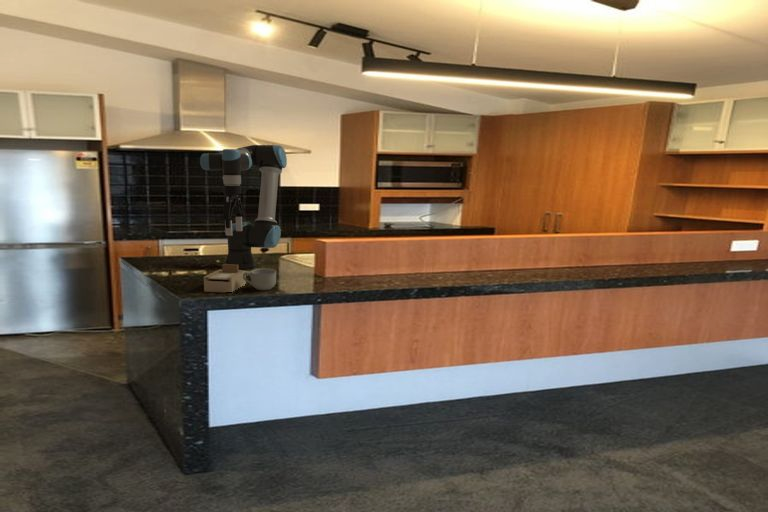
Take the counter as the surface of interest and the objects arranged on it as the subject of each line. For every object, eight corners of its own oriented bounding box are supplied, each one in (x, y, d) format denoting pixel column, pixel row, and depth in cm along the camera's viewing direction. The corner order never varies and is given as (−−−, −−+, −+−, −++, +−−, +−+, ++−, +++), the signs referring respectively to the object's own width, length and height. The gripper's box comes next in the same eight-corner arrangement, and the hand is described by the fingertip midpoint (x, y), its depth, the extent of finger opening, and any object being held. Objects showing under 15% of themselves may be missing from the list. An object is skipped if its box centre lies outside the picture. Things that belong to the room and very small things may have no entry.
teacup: (278, 286, 232) (278, 268, 231) (274, 291, 222) (274, 273, 220) (246, 285, 232) (246, 268, 231) (240, 291, 221) (240, 273, 220)
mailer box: (220, 283, 236) (219, 269, 235) (246, 284, 235) (245, 270, 234) (204, 291, 220) (203, 276, 219) (231, 292, 219) (231, 277, 218)
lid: (221, 272, 234) (220, 263, 233) (242, 273, 233) (242, 264, 232) (207, 278, 220) (207, 269, 220) (229, 279, 219) (229, 270, 219)
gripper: (233, 183, 243) (235, 229, 247) (213, 186, 218) (215, 237, 222) (249, 183, 242) (251, 229, 246) (231, 186, 218) (233, 237, 222)
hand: (234, 233), depth 234 cm, fingers open, 13 cm apart
